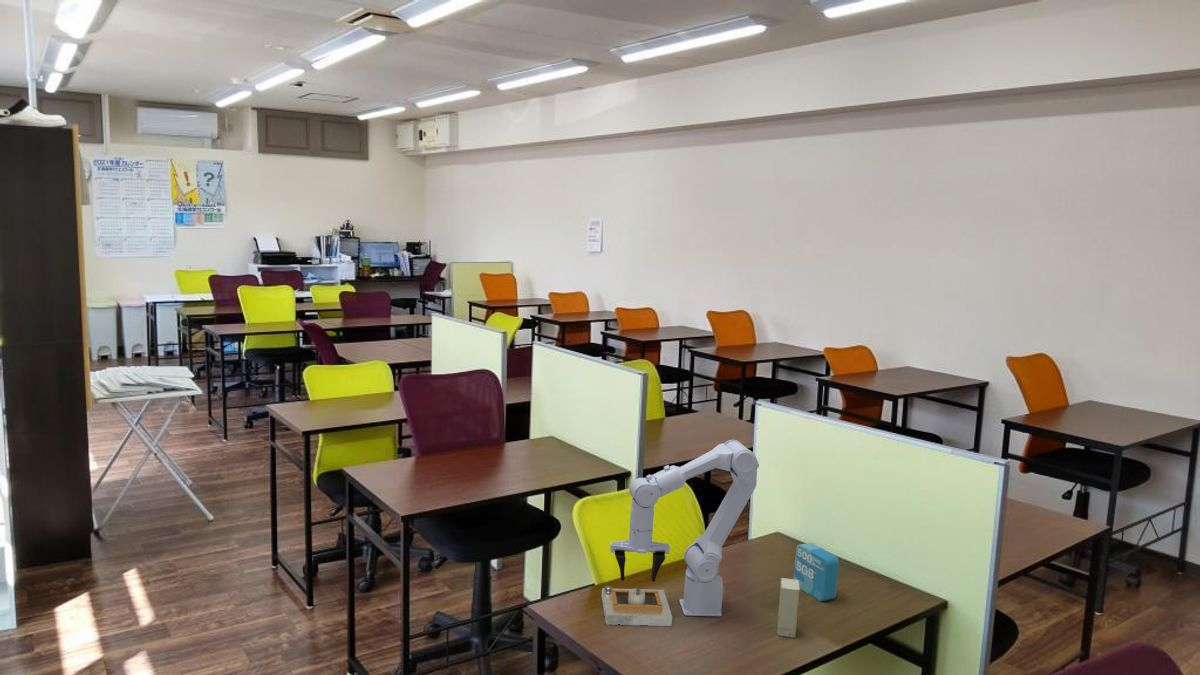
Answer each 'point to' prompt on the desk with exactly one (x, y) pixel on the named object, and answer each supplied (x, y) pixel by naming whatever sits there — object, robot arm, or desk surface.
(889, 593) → the desk surface
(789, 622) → the skincare box
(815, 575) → the data package
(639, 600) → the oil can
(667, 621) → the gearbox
